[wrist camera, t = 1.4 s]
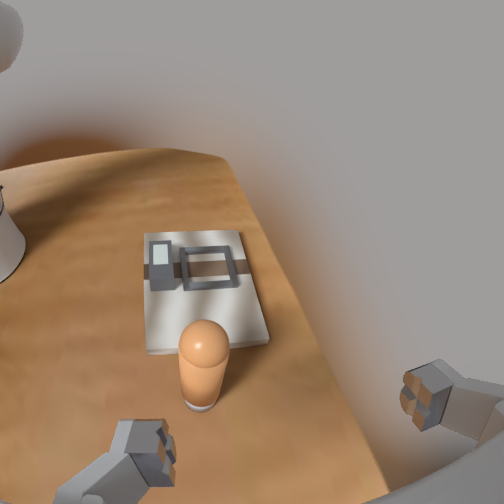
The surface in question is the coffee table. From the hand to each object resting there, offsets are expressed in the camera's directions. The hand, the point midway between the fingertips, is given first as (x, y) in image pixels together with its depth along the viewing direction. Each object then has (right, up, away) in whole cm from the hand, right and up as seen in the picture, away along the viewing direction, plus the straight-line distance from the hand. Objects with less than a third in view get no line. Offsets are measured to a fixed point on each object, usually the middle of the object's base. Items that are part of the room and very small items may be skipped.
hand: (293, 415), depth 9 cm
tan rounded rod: (-7, -11, +23) cm, 27 cm away
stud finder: (-14, +3, +33) cm, 36 cm away
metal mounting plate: (-9, 0, +34) cm, 35 cm away
